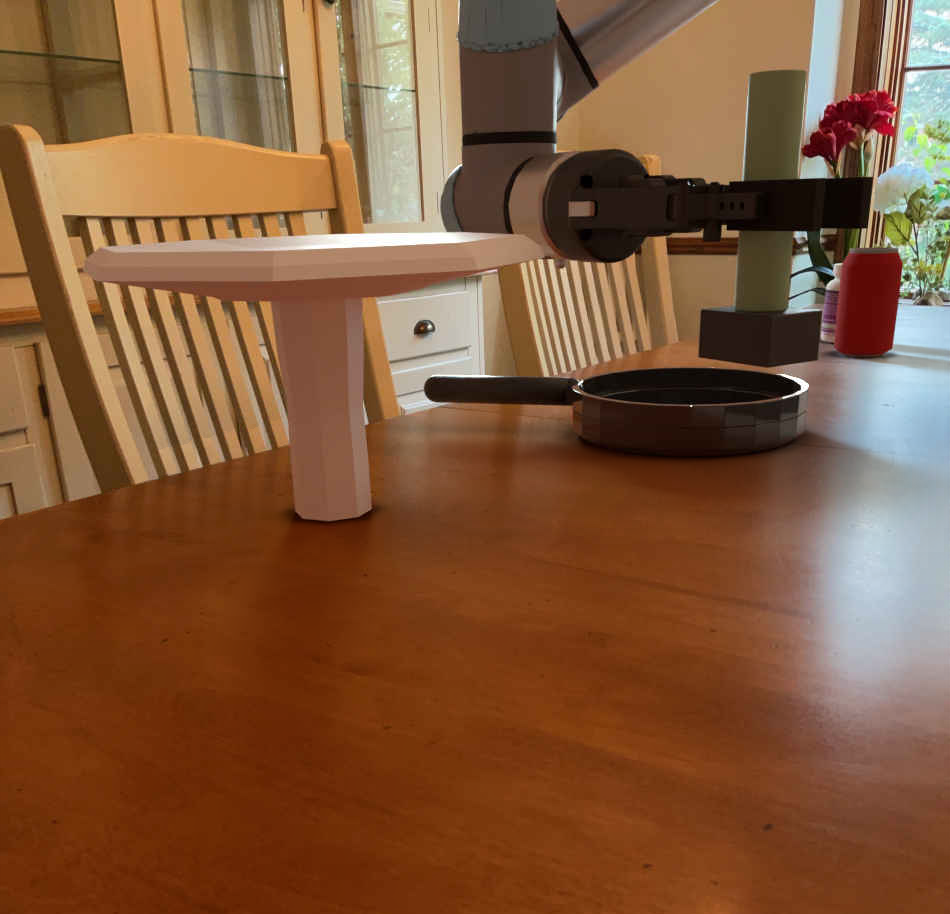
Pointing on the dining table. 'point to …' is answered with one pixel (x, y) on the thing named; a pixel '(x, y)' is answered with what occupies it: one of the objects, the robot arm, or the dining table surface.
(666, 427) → the frying pan
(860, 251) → the beverage can
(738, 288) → the green peg on base
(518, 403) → the pan handle
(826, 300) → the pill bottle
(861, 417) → the dining table surface
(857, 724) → the dining table surface
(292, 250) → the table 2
